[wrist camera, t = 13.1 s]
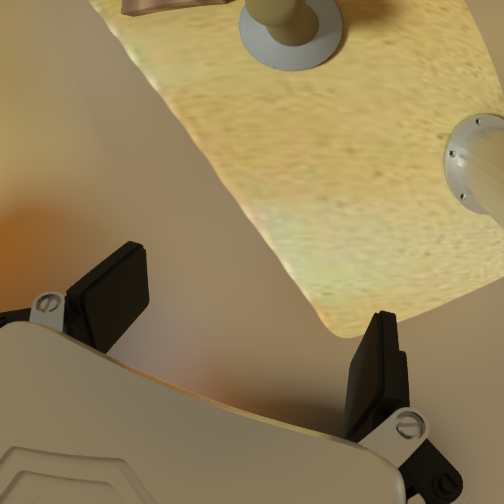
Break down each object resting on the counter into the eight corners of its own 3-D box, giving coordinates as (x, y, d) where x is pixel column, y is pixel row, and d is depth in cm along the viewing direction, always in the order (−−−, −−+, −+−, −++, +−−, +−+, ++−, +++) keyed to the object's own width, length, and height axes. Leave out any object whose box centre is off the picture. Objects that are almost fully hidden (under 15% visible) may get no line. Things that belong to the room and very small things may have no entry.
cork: (324, 42, 29) (314, 20, 20) (271, 50, 31) (242, 34, 22) (313, -3, 26) (299, -38, 17) (261, 6, 28) (229, -23, 19)
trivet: (344, -13, 25) (344, -16, 24) (339, 77, 31) (338, 76, 30) (244, -17, 28) (242, -19, 27) (237, 68, 34) (235, 68, 33)
